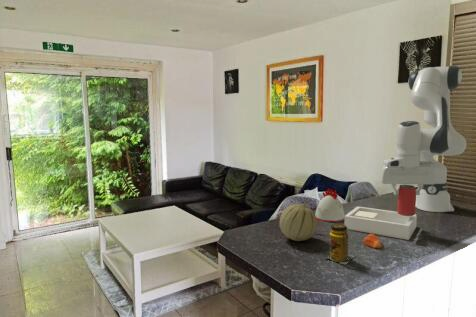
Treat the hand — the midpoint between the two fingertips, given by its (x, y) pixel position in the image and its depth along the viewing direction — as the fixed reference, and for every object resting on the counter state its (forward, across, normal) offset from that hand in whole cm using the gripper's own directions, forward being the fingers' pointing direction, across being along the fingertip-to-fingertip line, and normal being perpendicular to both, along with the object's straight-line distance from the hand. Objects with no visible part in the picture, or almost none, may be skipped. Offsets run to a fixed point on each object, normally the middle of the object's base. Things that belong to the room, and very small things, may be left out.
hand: (406, 194), depth 135 cm
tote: (+16, +9, -2) cm, 19 cm away
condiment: (+17, +30, +29) cm, 45 cm away
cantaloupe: (+16, +44, +13) cm, 49 cm away
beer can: (+8, 0, 0) cm, 9 cm away
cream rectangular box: (+15, +15, -5) cm, 22 cm away
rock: (+17, +16, +16) cm, 28 cm away
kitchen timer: (+17, +29, -16) cm, 37 cm away
